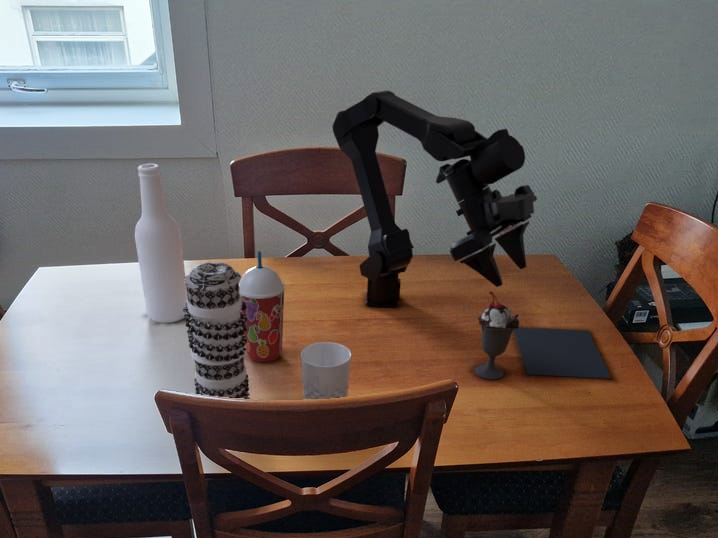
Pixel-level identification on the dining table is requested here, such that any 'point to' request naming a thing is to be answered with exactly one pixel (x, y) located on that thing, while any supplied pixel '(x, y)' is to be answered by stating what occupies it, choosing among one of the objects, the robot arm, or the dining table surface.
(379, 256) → the robot arm
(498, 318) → the sundae
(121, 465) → the dining table surface
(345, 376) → the white cup
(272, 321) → the smoothie
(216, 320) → the decorative candle
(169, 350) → the dining table surface
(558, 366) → the dark blue rectangular panel
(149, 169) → the alcohol
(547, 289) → the dining table surface
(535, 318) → the dining table surface
